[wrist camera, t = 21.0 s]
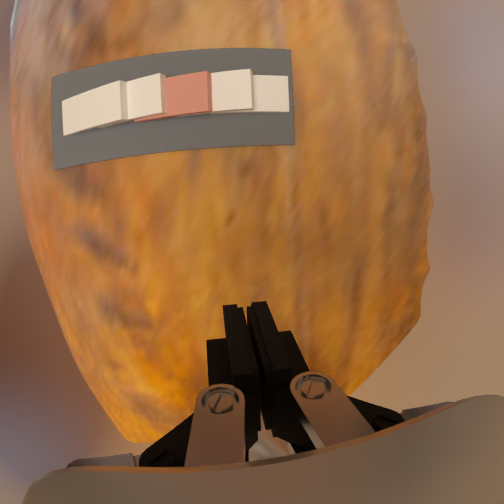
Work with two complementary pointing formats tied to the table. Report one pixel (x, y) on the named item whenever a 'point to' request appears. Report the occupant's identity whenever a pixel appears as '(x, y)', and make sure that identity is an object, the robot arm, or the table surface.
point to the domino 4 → (231, 91)
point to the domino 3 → (187, 95)
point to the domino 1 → (95, 108)
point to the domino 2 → (146, 97)
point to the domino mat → (173, 128)
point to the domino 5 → (268, 95)
